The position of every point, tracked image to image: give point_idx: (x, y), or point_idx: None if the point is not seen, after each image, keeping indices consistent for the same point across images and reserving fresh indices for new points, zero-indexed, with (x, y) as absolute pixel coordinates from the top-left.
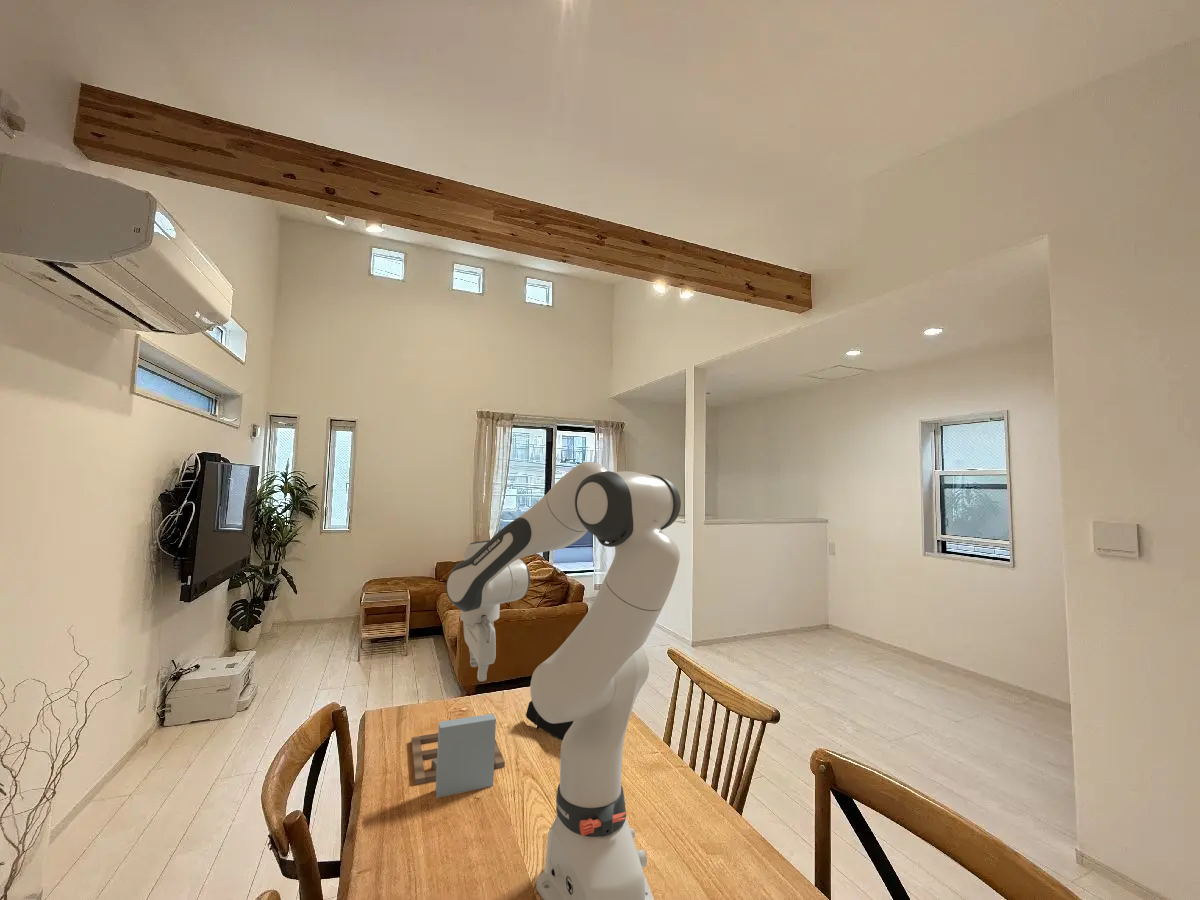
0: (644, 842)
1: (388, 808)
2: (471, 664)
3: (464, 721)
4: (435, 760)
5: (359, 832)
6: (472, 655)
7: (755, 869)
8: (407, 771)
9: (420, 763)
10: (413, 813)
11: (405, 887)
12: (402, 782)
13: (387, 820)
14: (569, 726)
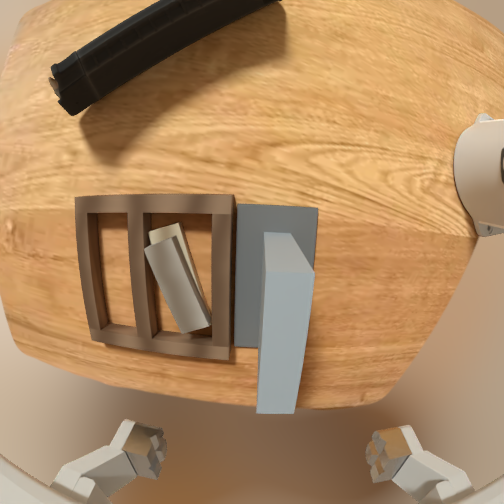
0: (464, 86)
1: None
2: (163, 459)
3: (285, 363)
4: (186, 328)
5: (295, 406)
6: (122, 479)
7: (497, 42)
8: None
9: (178, 346)
10: None
11: (409, 361)
12: (198, 360)
13: None
14: (173, 33)
